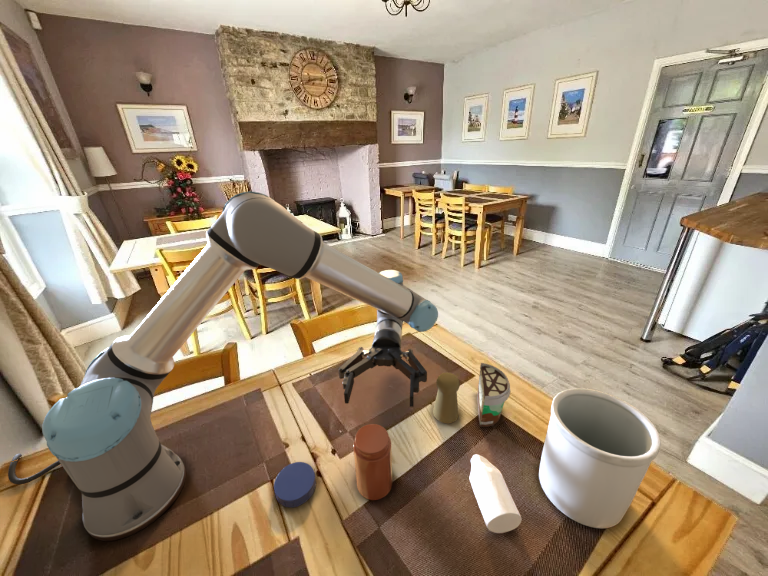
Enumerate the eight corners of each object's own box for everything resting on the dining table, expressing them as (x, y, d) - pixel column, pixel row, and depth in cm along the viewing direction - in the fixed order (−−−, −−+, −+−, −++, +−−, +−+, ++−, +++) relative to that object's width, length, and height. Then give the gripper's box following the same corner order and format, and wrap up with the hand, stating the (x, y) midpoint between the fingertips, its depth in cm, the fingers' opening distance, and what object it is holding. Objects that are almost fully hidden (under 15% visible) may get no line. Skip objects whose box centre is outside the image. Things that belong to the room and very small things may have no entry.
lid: (323, 477, 61) (322, 471, 60) (298, 515, 55) (296, 508, 54) (294, 462, 64) (292, 456, 63) (267, 496, 58) (265, 489, 57)
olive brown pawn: (463, 418, 73) (467, 382, 68) (441, 426, 71) (444, 389, 66) (449, 400, 78) (452, 365, 73) (428, 408, 76) (430, 372, 72)
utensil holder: (518, 459, 63) (533, 393, 56) (582, 446, 66) (605, 381, 58) (570, 541, 50) (599, 469, 43) (648, 521, 52) (689, 450, 45)
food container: (509, 436, 68) (516, 401, 64) (480, 431, 69) (485, 398, 65) (501, 395, 79) (507, 364, 75) (476, 392, 80) (480, 361, 76)
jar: (354, 498, 57) (349, 453, 52) (360, 464, 63) (356, 421, 58) (390, 501, 56) (389, 456, 51) (393, 466, 62) (392, 423, 57)
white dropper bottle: (489, 464, 62) (493, 444, 60) (519, 530, 52) (525, 510, 49) (460, 467, 62) (462, 448, 60) (484, 535, 51) (488, 515, 49)
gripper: (433, 353, 83) (439, 416, 64) (342, 350, 86) (321, 410, 67) (434, 330, 80) (440, 388, 61) (340, 327, 83) (317, 383, 64)
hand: (378, 400), depth 64 cm, fingers open, 13 cm apart
